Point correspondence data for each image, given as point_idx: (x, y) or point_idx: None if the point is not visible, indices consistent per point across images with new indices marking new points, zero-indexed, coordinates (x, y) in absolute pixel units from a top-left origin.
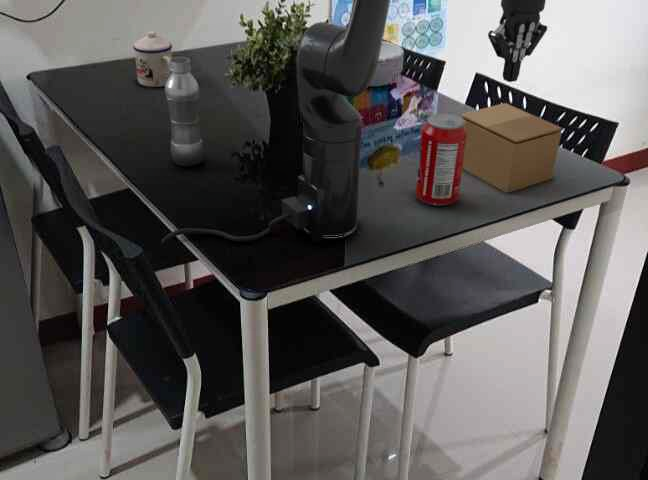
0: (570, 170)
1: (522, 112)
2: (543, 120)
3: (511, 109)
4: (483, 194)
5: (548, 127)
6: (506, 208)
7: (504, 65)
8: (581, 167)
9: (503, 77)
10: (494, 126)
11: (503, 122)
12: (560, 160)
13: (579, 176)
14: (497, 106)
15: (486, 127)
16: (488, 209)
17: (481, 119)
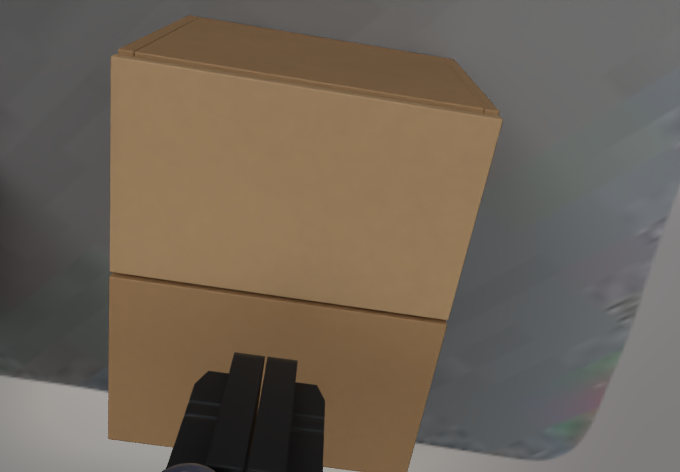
0: (504, 338)
1: (438, 270)
2: (419, 391)
3: (432, 206)
4: (94, 261)
5: (360, 443)
6: (90, 358)
7: (175, 444)
8: (556, 348)
9: (233, 356)
10: (145, 293)
11: (231, 288)
12: (561, 274)
13: (480, 378)
14: (407, 126)
15: (110, 267)
16: (33, 330)
17: (159, 192)
